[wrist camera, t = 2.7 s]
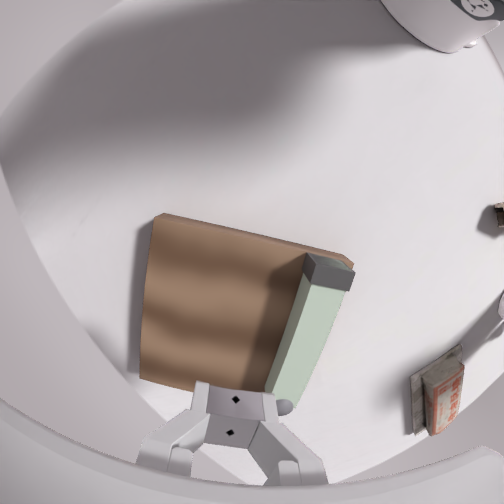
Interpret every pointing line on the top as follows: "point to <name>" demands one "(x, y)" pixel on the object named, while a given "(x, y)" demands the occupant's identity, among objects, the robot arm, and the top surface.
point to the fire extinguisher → (501, 307)
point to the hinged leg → (307, 328)
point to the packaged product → (437, 393)
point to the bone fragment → (500, 215)
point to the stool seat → (216, 303)
